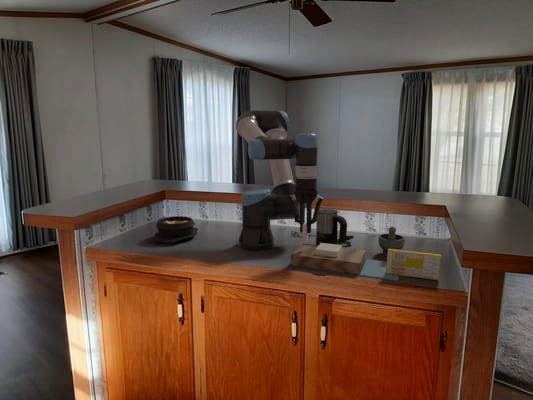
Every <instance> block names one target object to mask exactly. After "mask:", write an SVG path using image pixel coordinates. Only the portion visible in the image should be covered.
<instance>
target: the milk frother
mask: <svg viewBox="0 0 533 400" xmlns="http://www.w3.org/2000/svg"><path fill="white" fill-rule="evenodd" d="M338 213H339V210H337V209H332V208H320V209H319V213H318V217H317V221H316V222H315V223H316V225H315V226H316V233H315V234H316V238H315V245H320V244H321V243H326V244H335V245H343V244H345V243H346V242H348V241H351V240H353V239H354V238H355V236H354V235H348V234H347V232H348V231H347V230H348V222H347V220H346V218H345V217H344V216H342V215H338ZM338 224H339V226H338ZM338 228H339V231H338ZM338 232H339V237H338Z"/></svg>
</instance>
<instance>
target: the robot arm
mask: <svg viewBox="0 0 533 400" xmlns="http://www.w3.org/2000/svg"><path fill="white" fill-rule="evenodd" d="M235 130H236V132H237V133H238V135H239V136H240V137H241V138H244V139H245V141H246V143H247V154H248V158H249V160H251V161H269V165H270V169H271V175H272V176H271V177H272V181H273V188H272V189H270V188H265V187H264V188H256V189H255V188H254V189H250V190H247V191H245V192H243V194H242V196H241V219H242V220H241V224H242V225H241V231H240V235H239V236H238V240H237V241H238V242H237V243H238V248H240V249H242V250H247V251H264V250H269V249H272V248H274V247H275V245H276V243H275V237H274V233H273V231H272V228H271V221H276V220H277V221H279V220H293V219H294V222H295V223H297V224H299V232H300V234H301V233H302V237H301V238H302V243H304V244H308V243H307V242H309V234H311V232H312V224H315V223H316V221H317V217H318V213H319V209H321V205H322V202H323V201H324V200H325V198H324V196H320V195H319V192H318V190H317V184H318V183H317V181H318V179H317V178H316V177H317V176H318V173H317V172H318V169H317V168H318V145H319V144H318V136H317V134H316V133H297V134H296V135H295V138H287V136H288V135H289V133H290V130H291V126H290V120H289V117H288V115H287V113H286V112H285V111H283V110H277V109H275V110H261V109H260V110H258V109H257V110H253V109H252V110H248V111H246V112H243V113H242V114H241V115H240V116H239V117H238V119H237V120H236V123H235ZM290 160H295V177H296V178H295V181H294V177H293V173H292V167H291V162H290ZM314 201H316V203H315V206H314V210H313V211H312V208H313V207H312V205H313V203H314ZM312 212H313V214H312ZM305 219H306V220H305Z"/></svg>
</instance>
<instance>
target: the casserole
mask: <svg viewBox="0 0 533 400" xmlns="http://www.w3.org/2000/svg"><path fill="white" fill-rule="evenodd" d="M195 224H196V222H194V220H193V218H192V217H191V216H181V215H178V216H177V215H175V216H168V217H167V216H166V217H163V218H160V219H158V221H157V223H156V225H155V227H156V228H157V232H155V234H154V236H153V237H152V238H151V240H152V241H154V242H158V243H175V242H180V241H181V242H182V241H185V240H188V239H190V238H193V237H195V236H196V235H197V234H198V230H199V229H198V227H194V226H195Z"/></svg>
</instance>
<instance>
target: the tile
mask: <svg viewBox="0 0 533 400" xmlns="http://www.w3.org/2000/svg"><path fill="white" fill-rule="evenodd" d="M342 248H343V244H338V245H335V244H326V243H321V244H320V245H319V246H318V247H317V248H316V249H315V255H323V256H331V257H338V256H339V255H340V253H341V252H342Z"/></svg>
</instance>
